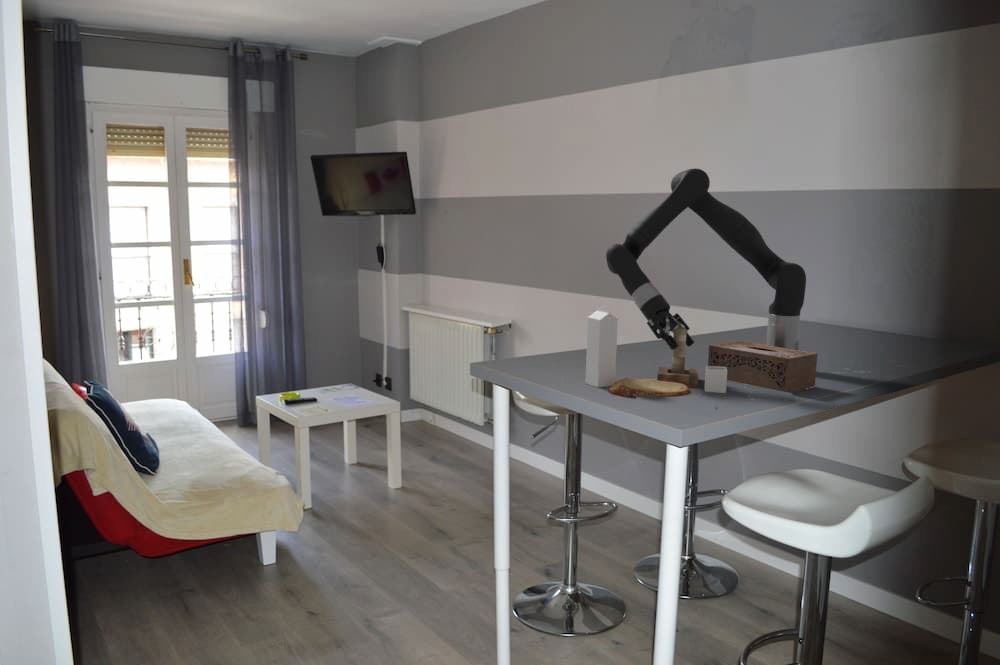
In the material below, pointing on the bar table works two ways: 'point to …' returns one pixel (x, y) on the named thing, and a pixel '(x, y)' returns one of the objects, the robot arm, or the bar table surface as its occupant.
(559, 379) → the bar table surface
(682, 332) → the dowel
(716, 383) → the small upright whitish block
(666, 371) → the socket block
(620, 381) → the bread slice
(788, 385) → the tissue box cover
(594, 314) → the milk
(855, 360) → the bar table surface
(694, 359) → the bar table surface
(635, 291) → the robot arm
